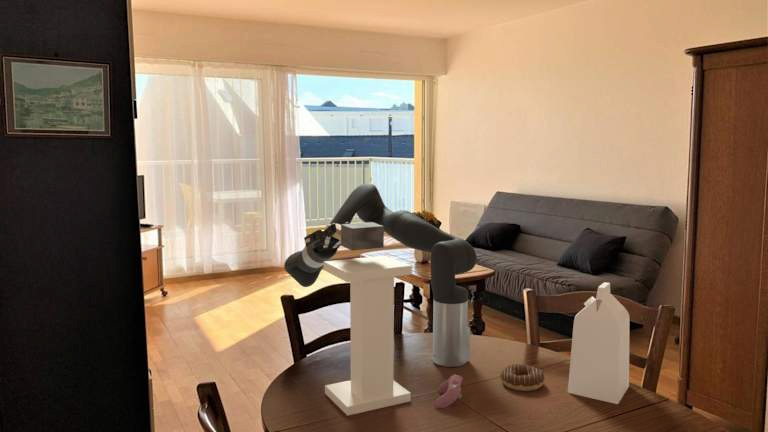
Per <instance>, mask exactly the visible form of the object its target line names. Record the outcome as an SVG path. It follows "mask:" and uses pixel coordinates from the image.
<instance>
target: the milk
mask: <svg viewBox="0 0 768 432" xmlns="http://www.w3.org/2000/svg"><path fill="white" fill-rule="evenodd" d="M595 296H596V297H594V296H590V298H588V299H587V300H586V301H584V303H583V305H584V306H585V307H583V308H582V309H581V310H580V311H579V312H578V313H577V314H575V316H574V319H573V328H572V336H571V337H572V338H571V339H572V340H571V348H570V349H571V351H570V352H571V353H570V360H569V364H570V365H569V371H568V373H569V374H568V382H567V383H568V385H567V394H572V395H576V396H579V397H585V398H589V399H593V400H598V401H603V402H607V403H610V404H611V403H612V404H615V405H618V404H620V402H621V400H622V398H623V397H624V395H626V394H625V393H626V392H627V390H628V389H629V387H630V314H629V312H628V310H627V309H626V307H625V306H624V305H623V304H621V302H620V301H619V300H618V299H617V298H616V297H615V296H614V295H613V294H612V293H611V283H610V282H605V281H604V282H603V283H601V284H600V285H598V287H597V292H596V295H595Z"/></svg>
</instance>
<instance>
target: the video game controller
mask: <svg viewBox="0 0 768 432" xmlns="http://www.w3.org/2000/svg"><path fill="white" fill-rule="evenodd" d="M463 380H464V378H463V377H462V376H461V375H459V374H455V373H454V374H453V375H451V376H450V377H449V378H448V379H446V380H444V381H443V382H441V383H440V384H439V386H438V392H439V393H441V394H442V395H441V396H438V397H437V399H436V400H434V406H435V407H436V408H437V409H444V408H446V407H449V406H450V405H453V404H454V403H455V402H456V401H457V399H461V398H462V393H461V391H462V387H461V384H462V382H463Z"/></svg>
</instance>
